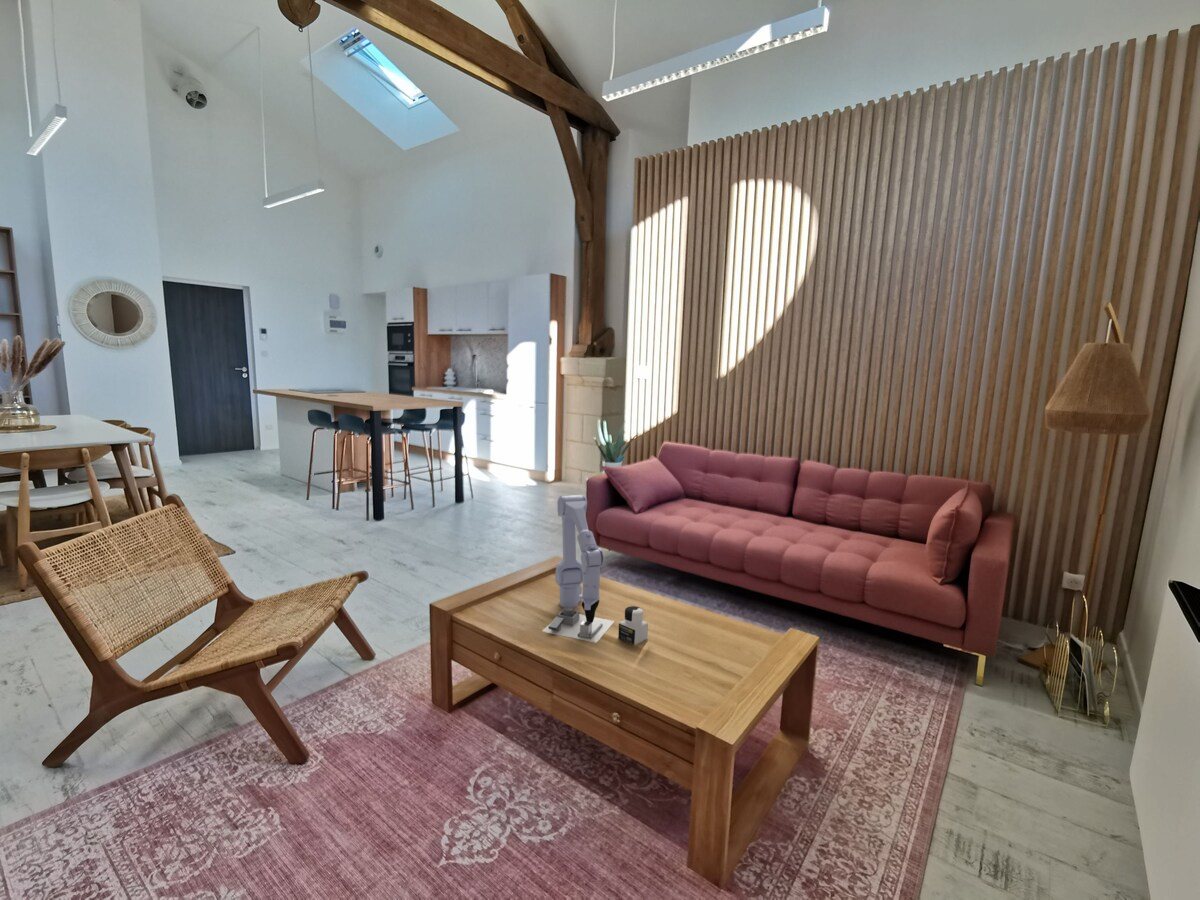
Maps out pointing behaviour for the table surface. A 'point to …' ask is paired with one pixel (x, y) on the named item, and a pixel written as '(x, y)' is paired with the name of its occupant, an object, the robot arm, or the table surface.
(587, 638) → the panel
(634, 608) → the medicine bottle
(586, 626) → the slider knob
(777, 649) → the table surface
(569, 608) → the push button
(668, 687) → the table surface
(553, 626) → the rocker
